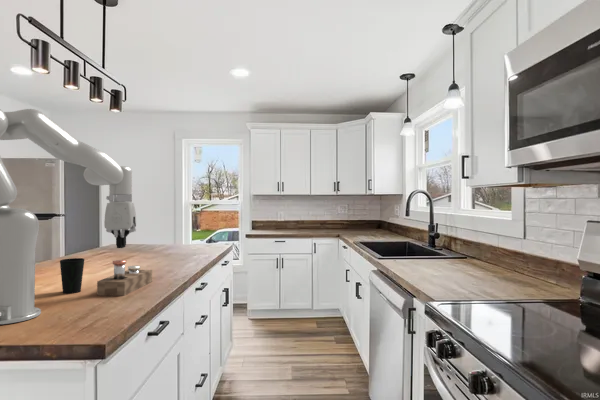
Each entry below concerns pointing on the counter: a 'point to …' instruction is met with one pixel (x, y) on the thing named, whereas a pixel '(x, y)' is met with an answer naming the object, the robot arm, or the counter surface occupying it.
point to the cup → (71, 274)
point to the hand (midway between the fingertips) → (121, 247)
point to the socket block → (124, 283)
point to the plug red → (119, 269)
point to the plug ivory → (133, 269)
